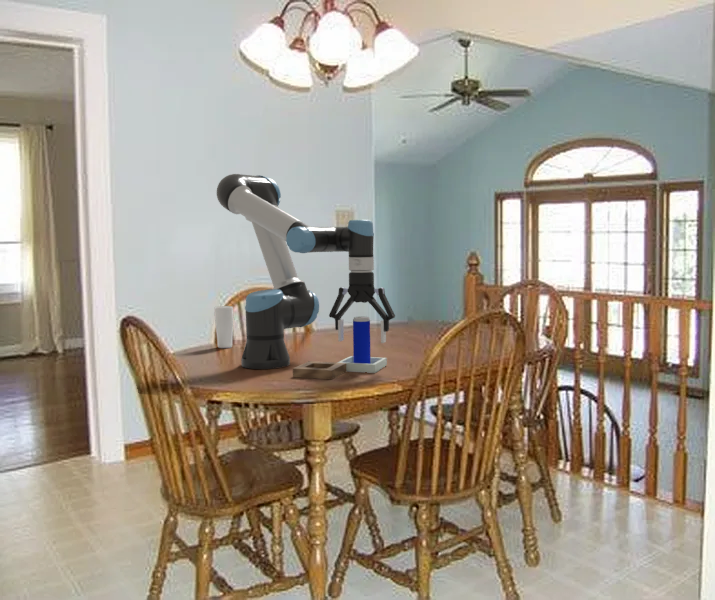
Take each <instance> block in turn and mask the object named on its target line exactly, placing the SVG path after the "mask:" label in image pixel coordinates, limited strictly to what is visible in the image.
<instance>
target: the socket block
mask: <svg viewBox="0 0 715 600" xmlns="http://www.w3.org/2000/svg"><path fill="white" fill-rule="evenodd" d="M346 372H347V371H346V363H337V362H334V361H333V362H332V361H331V362H330V361H329V362H327V361H309V360H308V361H307V362H304V363H302V364H300V365H298V366H295V367H293V368H292V377H293V378H305V379H321V380H334V379H335V378H337V377H339V376H341V375H342V374H344V373H346Z"/></svg>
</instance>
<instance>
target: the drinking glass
mask: <svg viewBox="0 0 715 600" xmlns="http://www.w3.org/2000/svg"><path fill="white" fill-rule="evenodd" d="M214 325H215V331H216V340H217V341H216V342H217V343H216V344H217V347H218V348H219V349H229V348H230V349H231V348H232V347H233V333H234V332H233V330H234V305H233V306H230V305H218V306H215V307H214Z"/></svg>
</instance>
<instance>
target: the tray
mask: <svg viewBox="0 0 715 600" xmlns="http://www.w3.org/2000/svg"><path fill="white" fill-rule="evenodd" d="M370 359H371V364H366V363H354V358H353V355H350V356H348V357H346V358H343V359H342V360H339V361H338V362H336V363H346V372H347V373H348V372H350V373H351V372H352V373H365V372H367V373H368V374H369V373H370V374H377V372H380V371H381V370H383V369H384V368H385V366H386V365H387V366H388V358H387V357H375V356H374V357H373V356H370ZM387 366H386V367H387ZM383 367H384V368H383ZM382 368H383V369H382ZM380 369H381V370H380Z"/></svg>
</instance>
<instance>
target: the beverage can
mask: <svg viewBox="0 0 715 600" xmlns="http://www.w3.org/2000/svg"><path fill="white" fill-rule="evenodd" d="M370 319H371V318H370V317H369V316H354V317H353V319H352V338H353V339H352V340H353V341H352V342H353V343H352V345H353V350H352V351H353V352H352V353H353V355H352V356H353V358H354V363H366V364H371V359H370V357H371V320H370Z"/></svg>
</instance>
